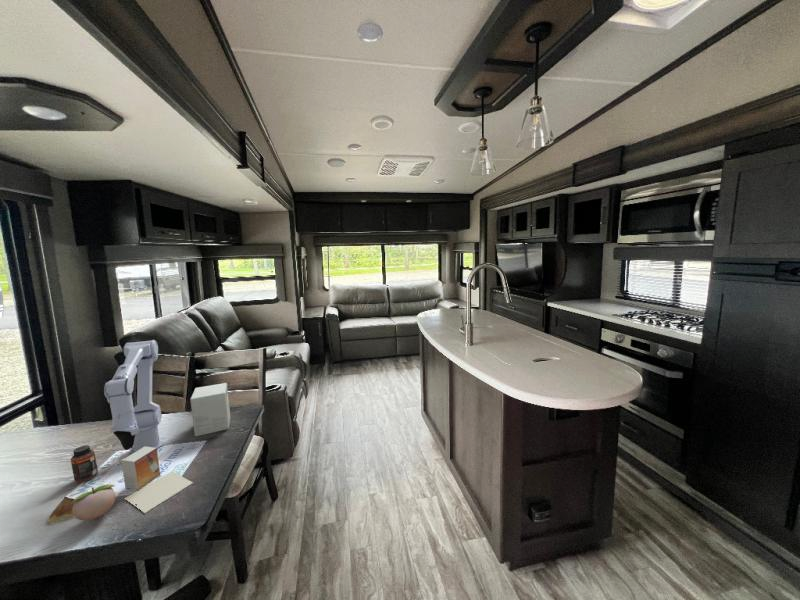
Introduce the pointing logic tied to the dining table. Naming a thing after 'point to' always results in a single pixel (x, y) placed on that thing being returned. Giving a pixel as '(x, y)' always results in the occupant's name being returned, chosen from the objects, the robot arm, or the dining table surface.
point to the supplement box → (210, 409)
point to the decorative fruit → (94, 503)
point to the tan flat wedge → (62, 511)
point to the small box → (140, 467)
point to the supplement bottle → (84, 464)
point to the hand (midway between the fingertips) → (128, 448)
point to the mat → (158, 491)
